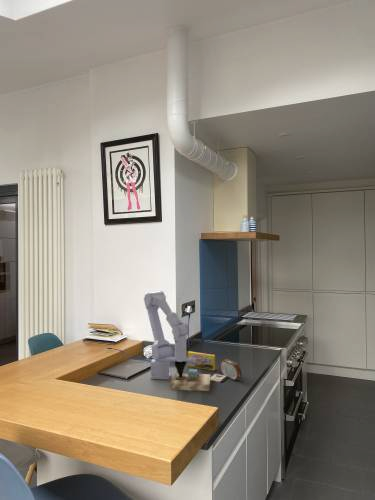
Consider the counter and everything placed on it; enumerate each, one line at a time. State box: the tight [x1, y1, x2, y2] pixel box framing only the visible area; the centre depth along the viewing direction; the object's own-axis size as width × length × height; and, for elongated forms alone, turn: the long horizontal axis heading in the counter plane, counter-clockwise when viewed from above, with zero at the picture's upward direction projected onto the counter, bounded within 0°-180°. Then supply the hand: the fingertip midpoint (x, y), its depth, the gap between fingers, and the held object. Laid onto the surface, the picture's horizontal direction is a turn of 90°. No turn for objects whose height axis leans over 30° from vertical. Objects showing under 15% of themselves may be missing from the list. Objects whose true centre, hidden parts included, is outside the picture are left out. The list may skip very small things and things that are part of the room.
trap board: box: [170, 372, 212, 392], centre depth 181 cm, size 18×14×4 cm
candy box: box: [187, 350, 216, 371], centre depth 207 cm, size 16×2×8 cm, turn 62°
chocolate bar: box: [210, 368, 230, 384], centre depth 194 cm, size 9×1×18 cm
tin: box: [220, 358, 243, 381], centre depth 191 cm, size 15×3×8 cm, turn 30°
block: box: [187, 368, 198, 378], centre depth 181 cm, size 4×4×4 cm
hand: (180, 376), depth 182 cm, fingers closed
